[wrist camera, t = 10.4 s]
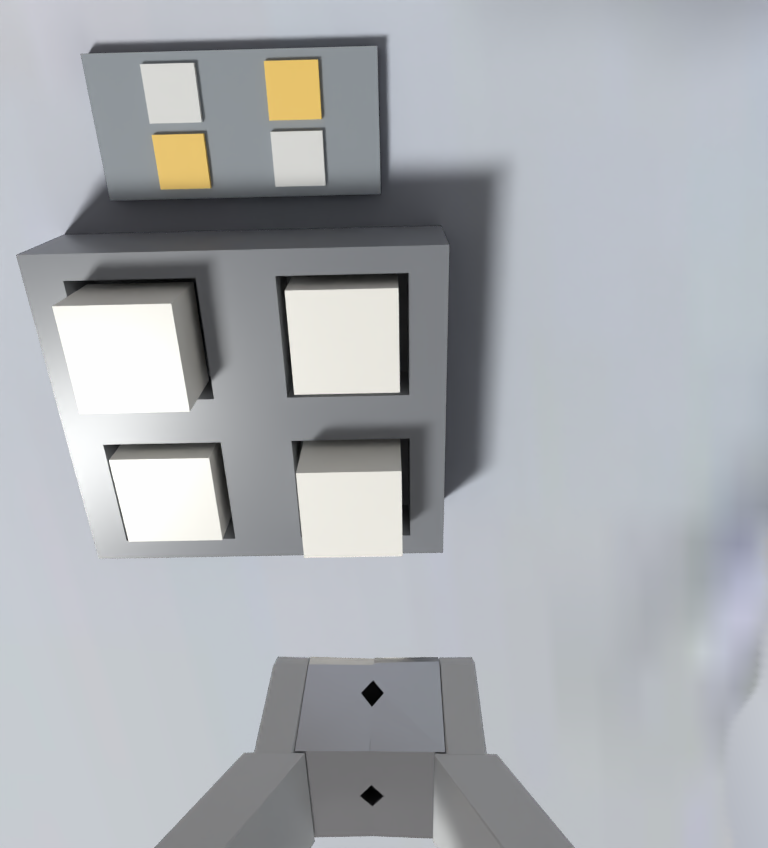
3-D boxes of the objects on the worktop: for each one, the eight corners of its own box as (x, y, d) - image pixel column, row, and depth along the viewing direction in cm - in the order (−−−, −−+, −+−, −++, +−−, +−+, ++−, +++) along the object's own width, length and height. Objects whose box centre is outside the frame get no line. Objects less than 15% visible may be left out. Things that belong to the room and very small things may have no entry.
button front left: (193, 282, 26) (171, 303, 23) (208, 380, 28) (189, 411, 25) (86, 284, 26) (52, 306, 23) (109, 382, 28) (80, 414, 25)
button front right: (397, 269, 27) (398, 288, 24) (398, 364, 29) (399, 392, 26) (294, 271, 27) (284, 290, 24) (302, 366, 29) (294, 394, 26)
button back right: (399, 436, 29) (401, 471, 26) (400, 515, 31) (402, 556, 28) (304, 437, 29) (296, 472, 26) (311, 517, 31) (304, 557, 28)
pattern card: (377, 46, 25) (377, 45, 24) (380, 192, 27) (380, 194, 26) (87, 54, 25) (78, 53, 24) (115, 198, 27) (108, 201, 26)
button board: (441, 225, 28) (449, 244, 24) (436, 504, 34) (443, 552, 30) (63, 234, 28) (16, 255, 24) (128, 510, 34) (98, 558, 30)
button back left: (224, 425, 30) (209, 458, 27) (236, 502, 32) (222, 540, 29) (133, 427, 30) (108, 460, 27) (150, 504, 32) (128, 541, 29)
